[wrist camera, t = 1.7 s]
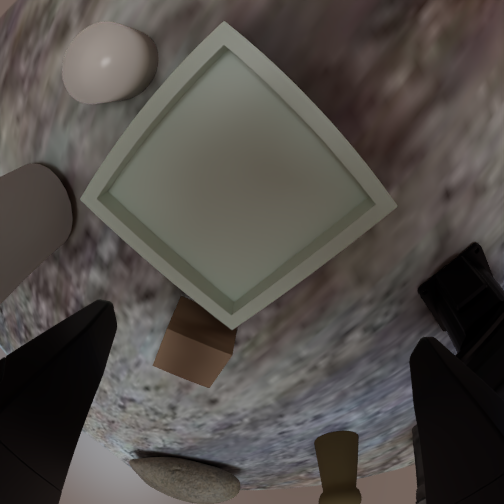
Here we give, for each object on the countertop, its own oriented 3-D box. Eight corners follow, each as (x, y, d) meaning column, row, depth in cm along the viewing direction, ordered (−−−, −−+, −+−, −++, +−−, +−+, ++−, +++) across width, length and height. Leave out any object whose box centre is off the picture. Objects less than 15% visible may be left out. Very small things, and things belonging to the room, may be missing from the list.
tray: (385, 192, 18) (397, 206, 16) (236, 308, 24) (232, 330, 22) (231, 30, 14) (224, 20, 12) (98, 187, 20) (79, 199, 18)
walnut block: (238, 319, 25) (232, 355, 21) (216, 354, 27) (209, 388, 24) (181, 294, 24) (167, 328, 21) (166, 332, 26) (152, 365, 23)
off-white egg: (174, 56, 15) (152, 49, 12) (125, 114, 17) (97, 121, 14) (124, 17, 14) (96, 7, 11) (80, 75, 16) (49, 76, 13)
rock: (250, 481, 43) (154, 468, 48) (234, 456, 39) (127, 440, 43) (243, 516, 37) (143, 497, 41) (224, 497, 32) (112, 472, 37)
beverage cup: (439, 431, 34) (462, 541, 16) (397, 441, 35) (413, 558, 17) (456, 406, 30) (489, 530, 13) (410, 418, 31) (434, 553, 14)
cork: (357, 445, 35) (363, 512, 26) (315, 451, 36) (316, 518, 27) (359, 427, 32) (368, 503, 23) (312, 434, 33) (313, 510, 24)
